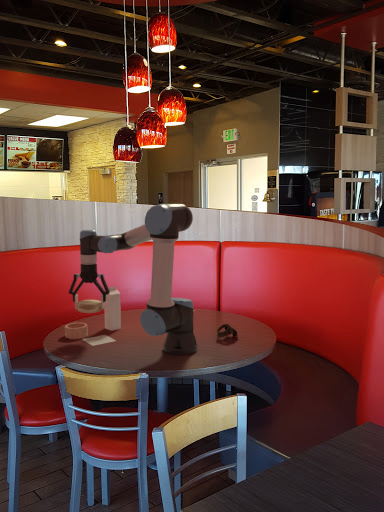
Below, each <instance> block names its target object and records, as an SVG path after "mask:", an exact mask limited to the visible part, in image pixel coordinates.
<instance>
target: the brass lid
mask: <svg viewBox="0 0 384 512" xmlns="http://www.w3.org/2000/svg"><path fill="white" fill-rule="evenodd" d="M76 311H77V312H79V313H84V314H93V313H99V312H101V311H103V309H101V300H97V299H84V300H79V301H78V303H77V309H76Z"/></svg>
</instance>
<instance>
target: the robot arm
mask: <svg viewBox="0 0 384 512" xmlns="http://www.w3.org/2000/svg"><path fill="white" fill-rule="evenodd" d="M193 220H194V217H193V213H192V211H191V209H190V208H189V207H188V206H187V205H185V204H184V203H183V204H182V203H160V204H155V205H153V206H151V207H149V209H147V212H146V214H145V216H144V224H142V225H140V226H138V227H135V228H133V229H130V230H128V231H126V232H124V233H118V234H111V235H110V234H109V235H98V234H97V231H96V230H94V229H85V230H81V231H80V232H79V251H80V252H79V253H80V258H79V259H80V273H77V272H76V273H74V274H73V281H72V282H71V285H70V288H69V290H68V295H72V301H73V302H74V307H75V308H74V310H77V303H78V302H79V294H78V292H79V290H80V289H81V288H82V286H83V285H84V284H88V283H89V284H92V283H93V285H95V286H96V288H97V290H99V292H100V293H101V295H100V301H101V309H102V310H104V302H105V301H106V295H107V294H109V293H110V291H109V285H108V284H107V282H106V281H107V280H106V279H105V274H104V273H98V264H97V262H98V258H97V256H98V254H97V253H104V254H113V253H114V252H117V251H124V250H125V251H126V250H127V251H128V250H131V249H134V248H135V247H136V246H138V245H141V244H144V243H146V242H149V241H151V240H152V262H151V282H150V298H149V299H148V300H147V301H146V309H144V310H143V311H142V312H140V317H139V320H140V325H141V328H143V331H144V332H145V333H146V334H147V335H149V336H152V337H157V336H158V337H159V336H162V335H164V334H166V336H165V340H164V342H163V352H165V353H166V354H170V355H176V356H178V355H179V356H181V355H183V356H184V355H190V354H193V353H196V352H197V351H198V343H197V342H198V341H197V339H196V336H195V332H194V310H195V309H194V302H193V300H192V299H189V298H184V297H172V293H173V292H172V290H173V278H174V277H173V276H174V274H173V273H174V257H175V243H176V241H178V240H179V234H180V232H181V233H182V232H184V231H186V230H188V229H189V228H190V227H191V225H192V224H193ZM79 278H80V279H81V280H80V282H79V284H78V285H77V287H76V288H75V286H76V284H77V281H78V279H79ZM98 278H99V279H100V281H101V283H102V285H101V284H100V283H99V280H98ZM74 289H75V290H74Z"/></svg>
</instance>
